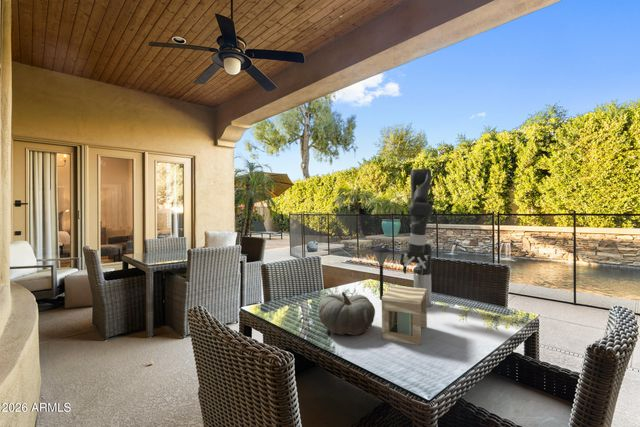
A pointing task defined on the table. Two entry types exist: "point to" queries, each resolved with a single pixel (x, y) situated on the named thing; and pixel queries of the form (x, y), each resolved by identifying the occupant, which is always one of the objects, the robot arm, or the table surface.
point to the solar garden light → (381, 263)
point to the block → (404, 323)
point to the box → (406, 303)
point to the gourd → (346, 313)
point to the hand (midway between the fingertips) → (413, 274)
